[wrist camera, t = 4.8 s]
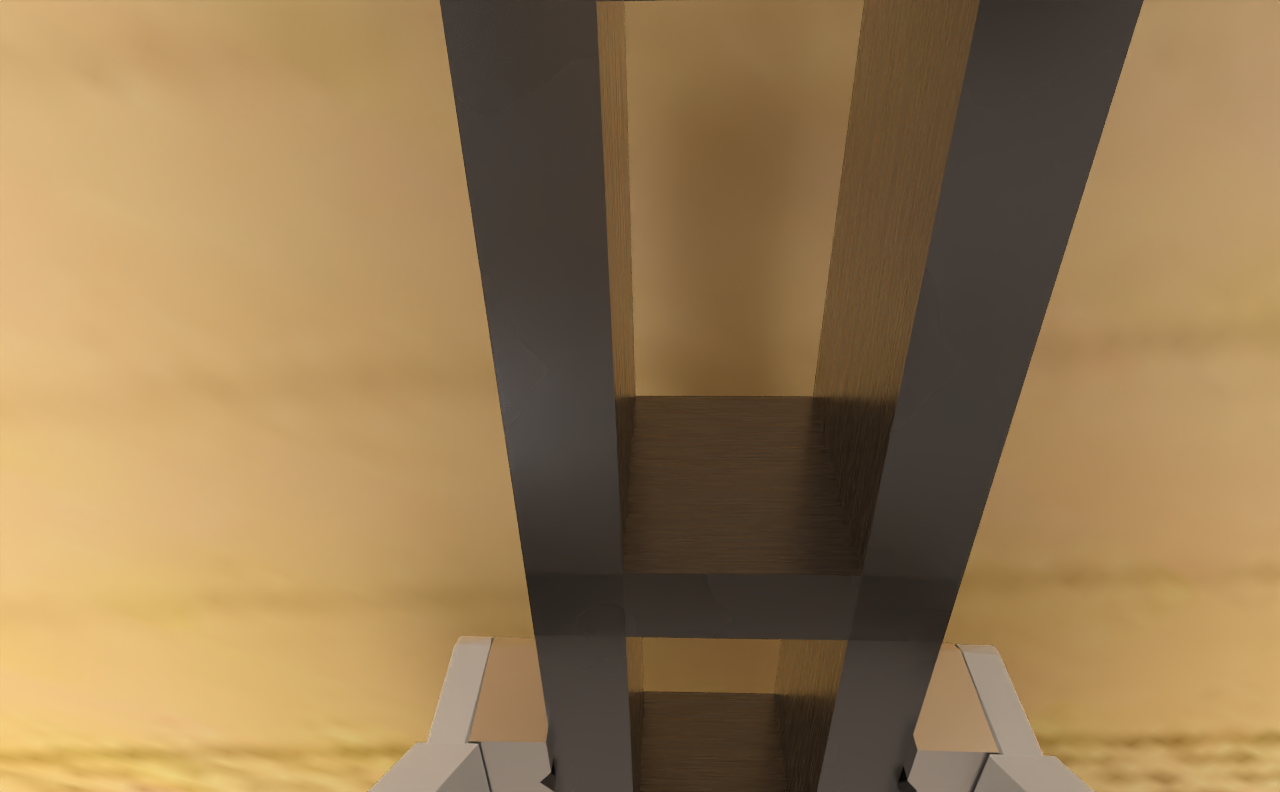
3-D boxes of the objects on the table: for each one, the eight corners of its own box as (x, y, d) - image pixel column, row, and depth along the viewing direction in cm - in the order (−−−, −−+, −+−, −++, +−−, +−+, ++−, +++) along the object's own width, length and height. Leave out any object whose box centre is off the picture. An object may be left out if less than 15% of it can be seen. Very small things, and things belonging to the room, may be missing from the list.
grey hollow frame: (865, 898, 18) (897, 1069, 16) (535, 888, 19) (512, 1055, 16) (1209, -186, 7) (1557, -225, 4) (316, -162, 7) (103, -185, 4)
